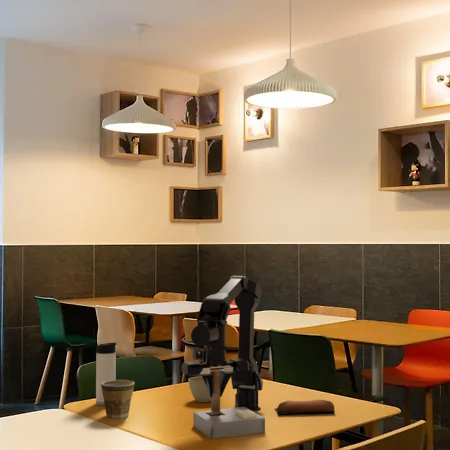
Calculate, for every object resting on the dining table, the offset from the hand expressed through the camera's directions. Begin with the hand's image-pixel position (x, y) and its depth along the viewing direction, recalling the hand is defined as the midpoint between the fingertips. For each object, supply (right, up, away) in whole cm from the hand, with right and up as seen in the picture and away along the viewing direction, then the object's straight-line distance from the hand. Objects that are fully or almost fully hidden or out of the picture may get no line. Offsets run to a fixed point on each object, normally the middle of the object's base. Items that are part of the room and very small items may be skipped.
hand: (215, 396), depth 192 cm
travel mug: (-36, -10, +29) cm, 48 cm away
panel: (+4, -9, -2) cm, 10 cm away
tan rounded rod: (0, -4, 0) cm, 4 cm away
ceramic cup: (-31, -10, +14) cm, 35 cm away
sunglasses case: (+27, -10, +19) cm, 35 cm away
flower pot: (-5, -10, +34) cm, 36 cm away
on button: (+9, -6, -3) cm, 11 cm away
